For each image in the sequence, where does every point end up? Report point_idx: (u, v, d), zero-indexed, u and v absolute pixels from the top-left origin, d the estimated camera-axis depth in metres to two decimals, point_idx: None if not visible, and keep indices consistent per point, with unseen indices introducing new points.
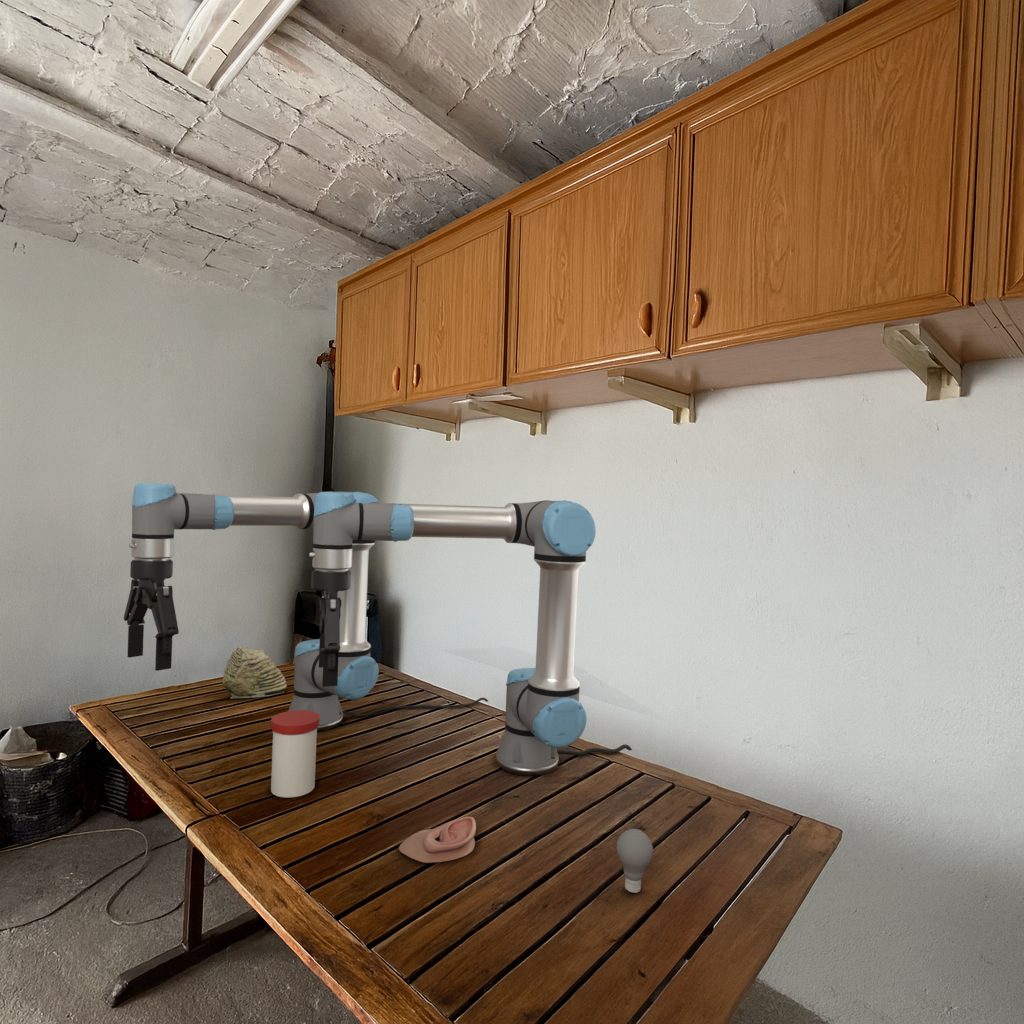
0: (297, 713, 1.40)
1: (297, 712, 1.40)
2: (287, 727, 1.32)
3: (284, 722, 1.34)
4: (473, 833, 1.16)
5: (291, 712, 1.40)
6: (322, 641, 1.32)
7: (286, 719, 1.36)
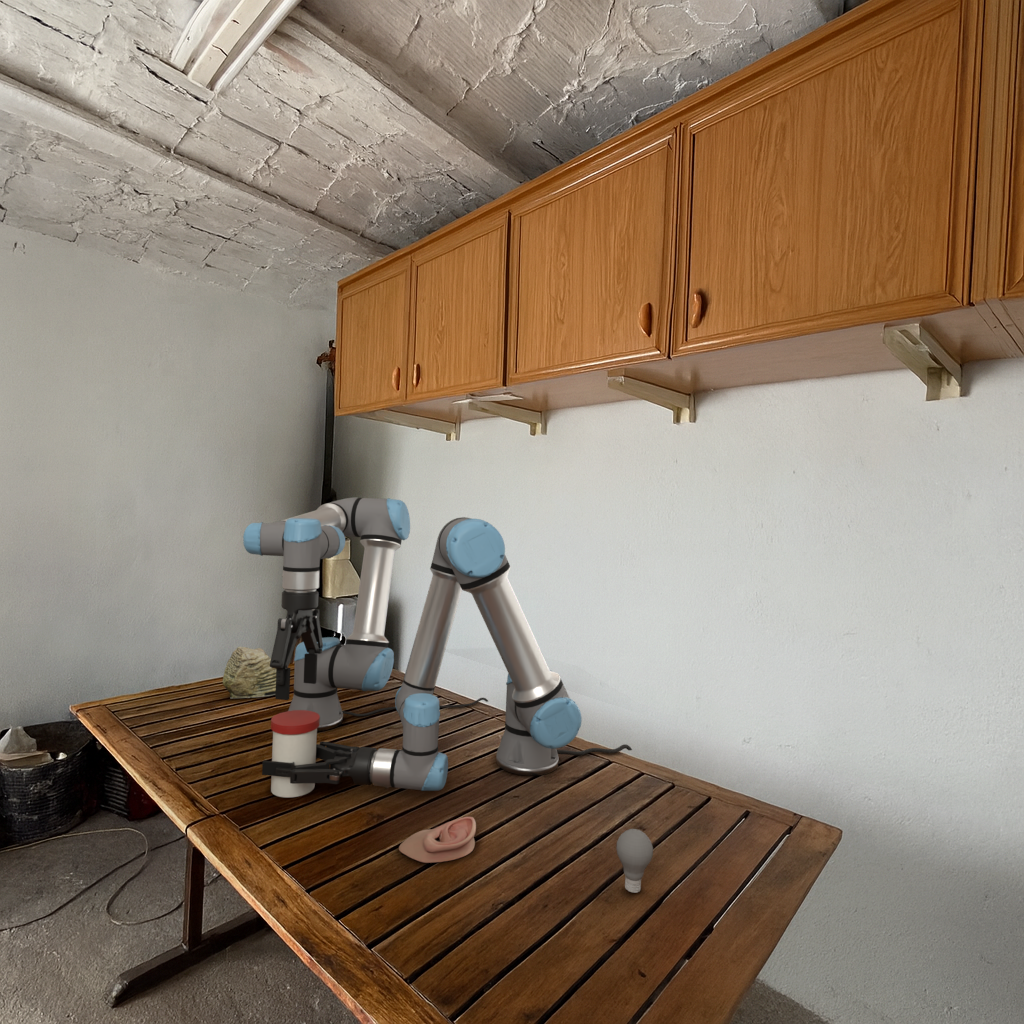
0: (297, 713, 1.40)
1: (297, 712, 1.40)
2: (287, 727, 1.32)
3: (284, 722, 1.34)
4: (473, 833, 1.16)
5: (291, 712, 1.40)
6: None
7: (286, 719, 1.36)
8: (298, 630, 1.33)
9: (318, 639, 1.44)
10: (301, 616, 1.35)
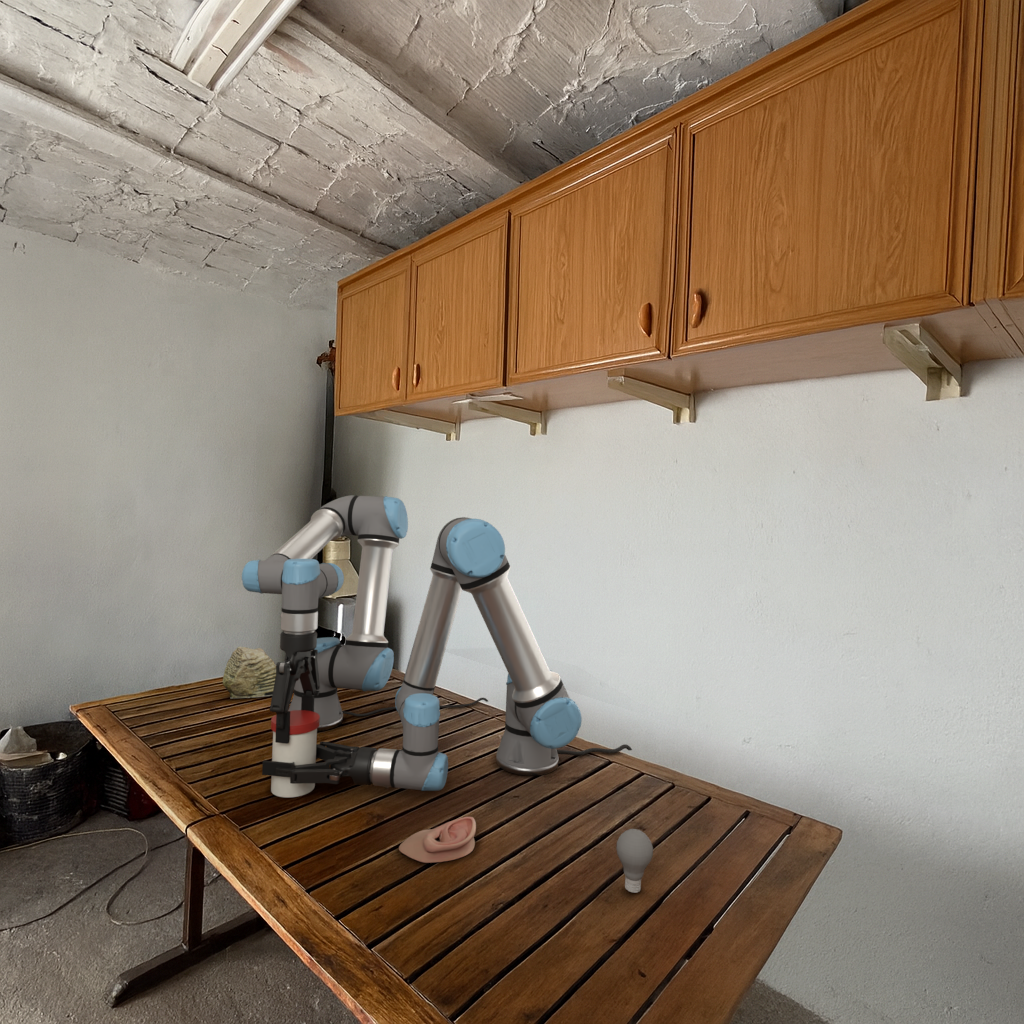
0: (297, 713, 1.40)
1: (297, 712, 1.40)
2: None
3: None
4: (473, 833, 1.16)
5: (291, 712, 1.40)
6: None
7: None
8: (297, 672, 1.34)
9: (315, 680, 1.43)
10: (299, 657, 1.35)
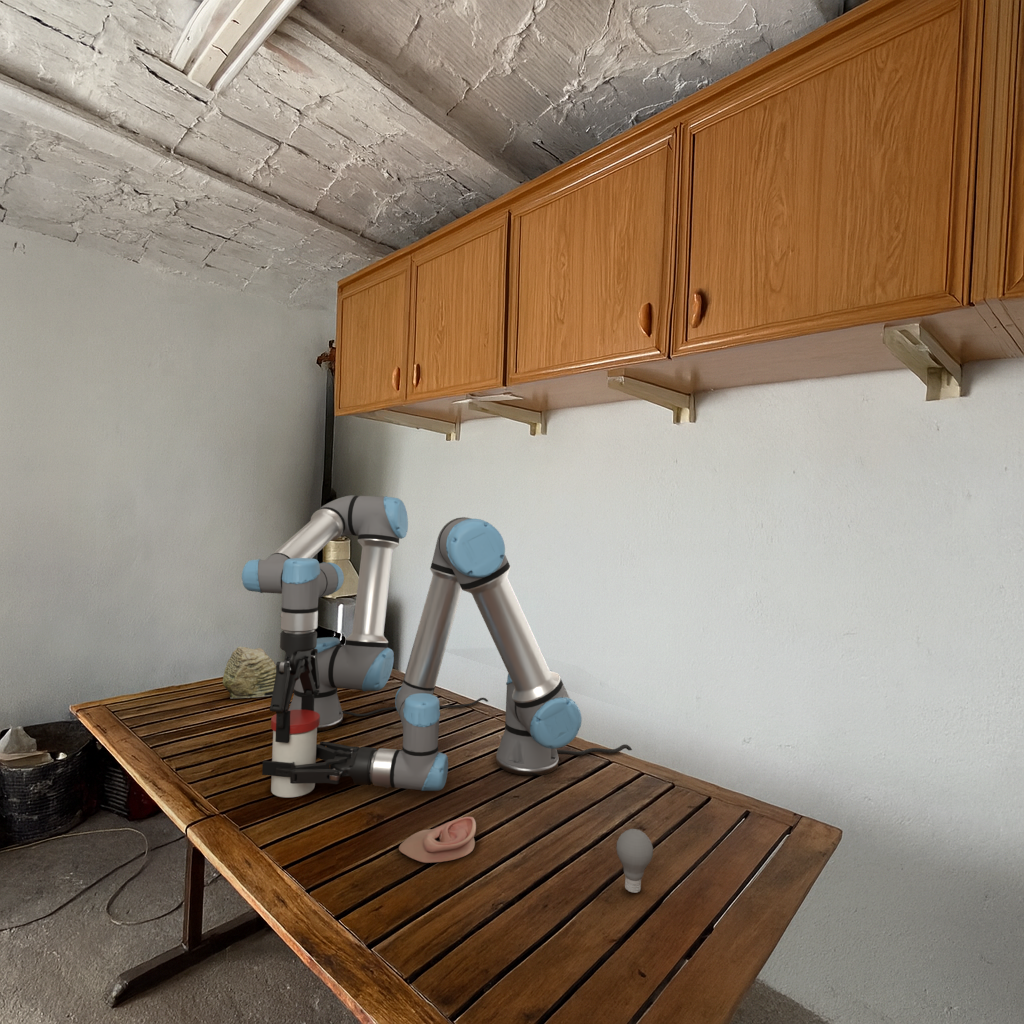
0: None
1: None
2: (312, 723, 1.35)
3: (301, 721, 1.34)
4: (473, 833, 1.16)
5: None
6: None
7: (295, 720, 1.35)
8: (297, 672, 1.34)
9: (315, 679, 1.43)
10: (299, 656, 1.35)
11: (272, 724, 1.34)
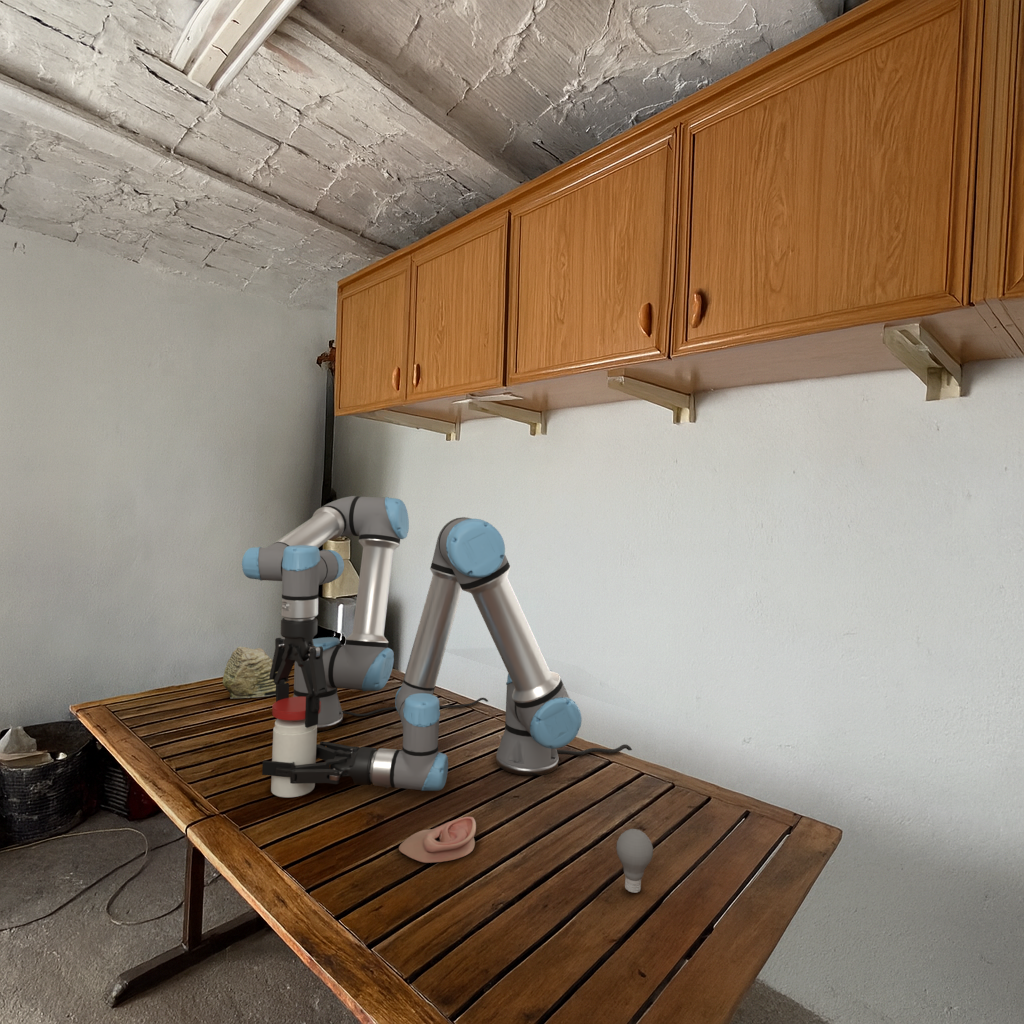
0: (284, 706, 1.35)
1: (282, 707, 1.35)
2: None
3: None
4: (473, 833, 1.16)
5: (284, 709, 1.34)
6: None
7: (304, 705, 1.37)
8: None
9: None
10: None
11: (293, 715, 1.32)
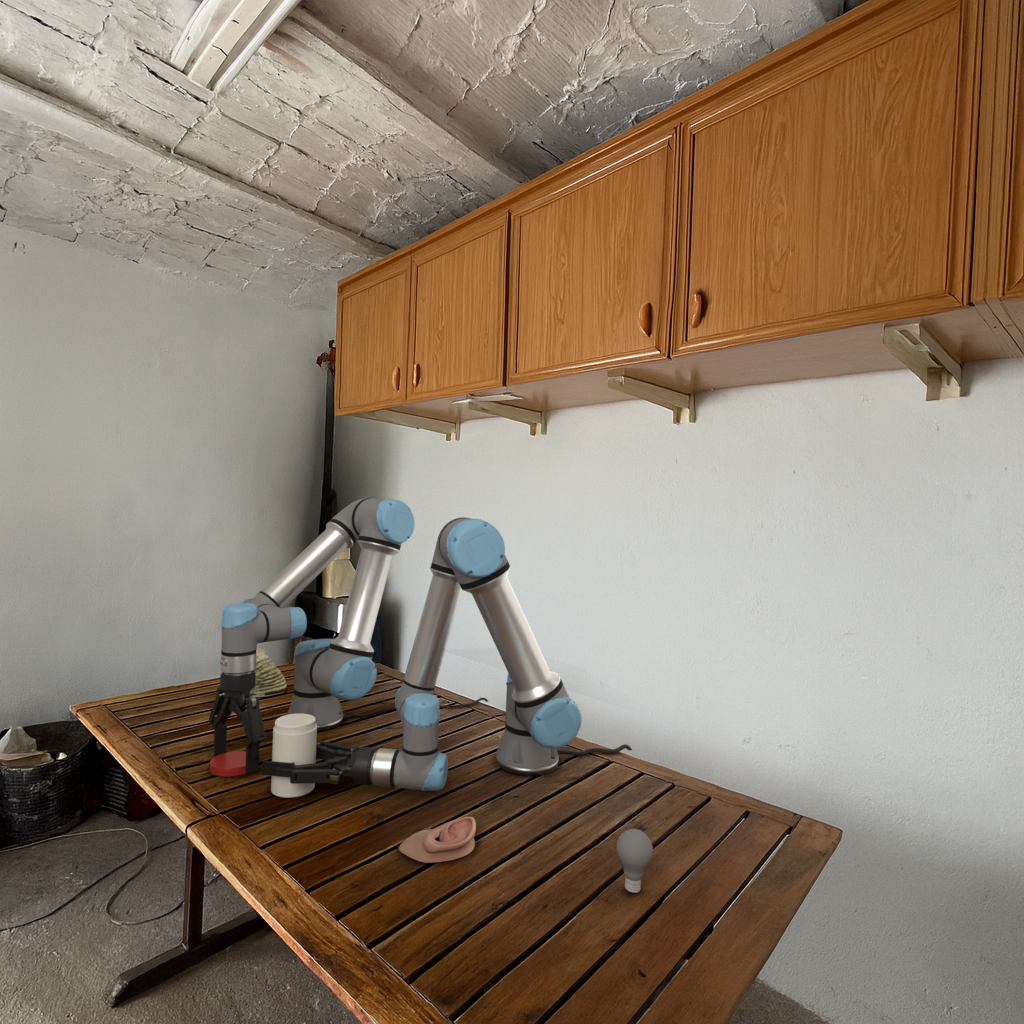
0: (221, 762, 1.44)
1: (218, 763, 1.44)
2: None
3: None
4: (473, 833, 1.16)
5: (220, 765, 1.43)
6: None
7: (241, 760, 1.46)
8: None
9: None
10: None
11: (228, 771, 1.41)
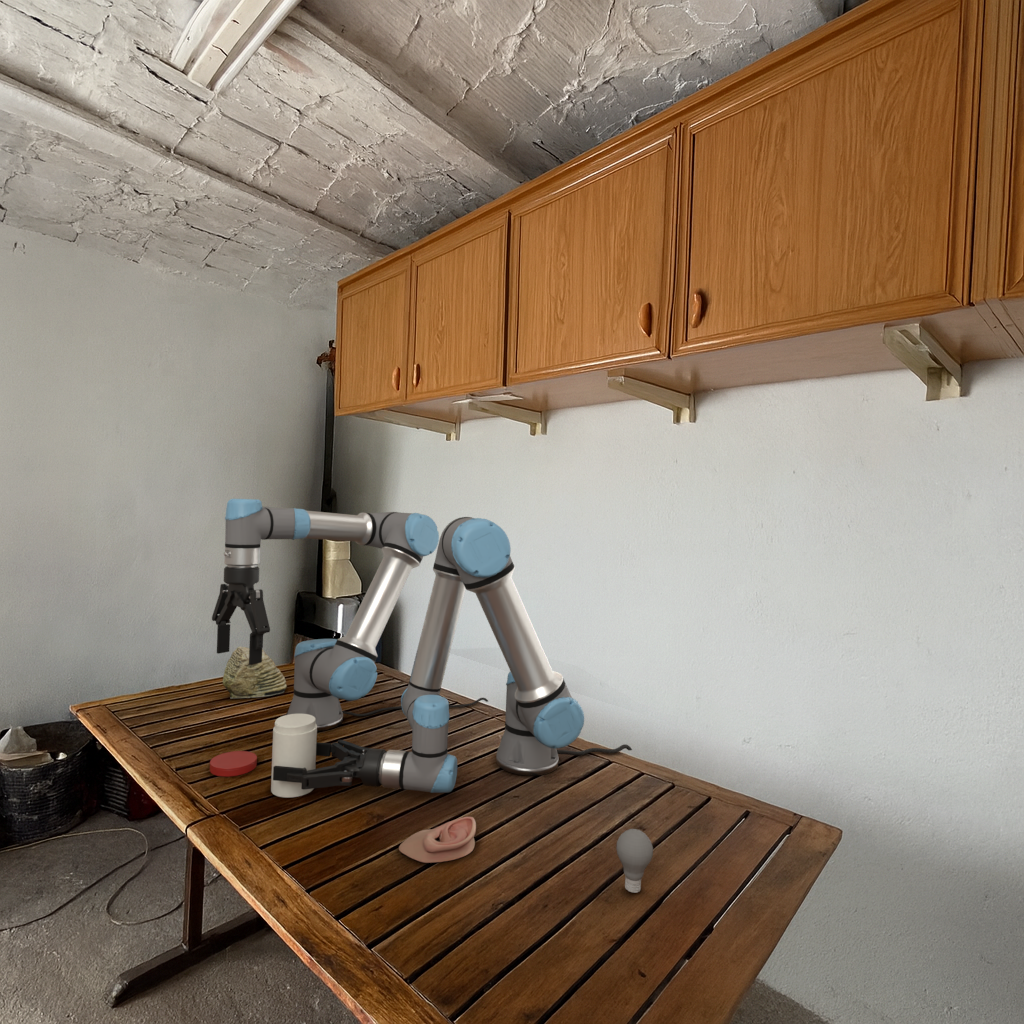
0: (221, 762, 1.44)
1: (218, 763, 1.44)
2: None
3: (249, 758, 1.47)
4: (473, 833, 1.16)
5: (220, 765, 1.43)
6: None
7: (241, 760, 1.46)
8: None
9: None
10: None
11: (228, 771, 1.41)
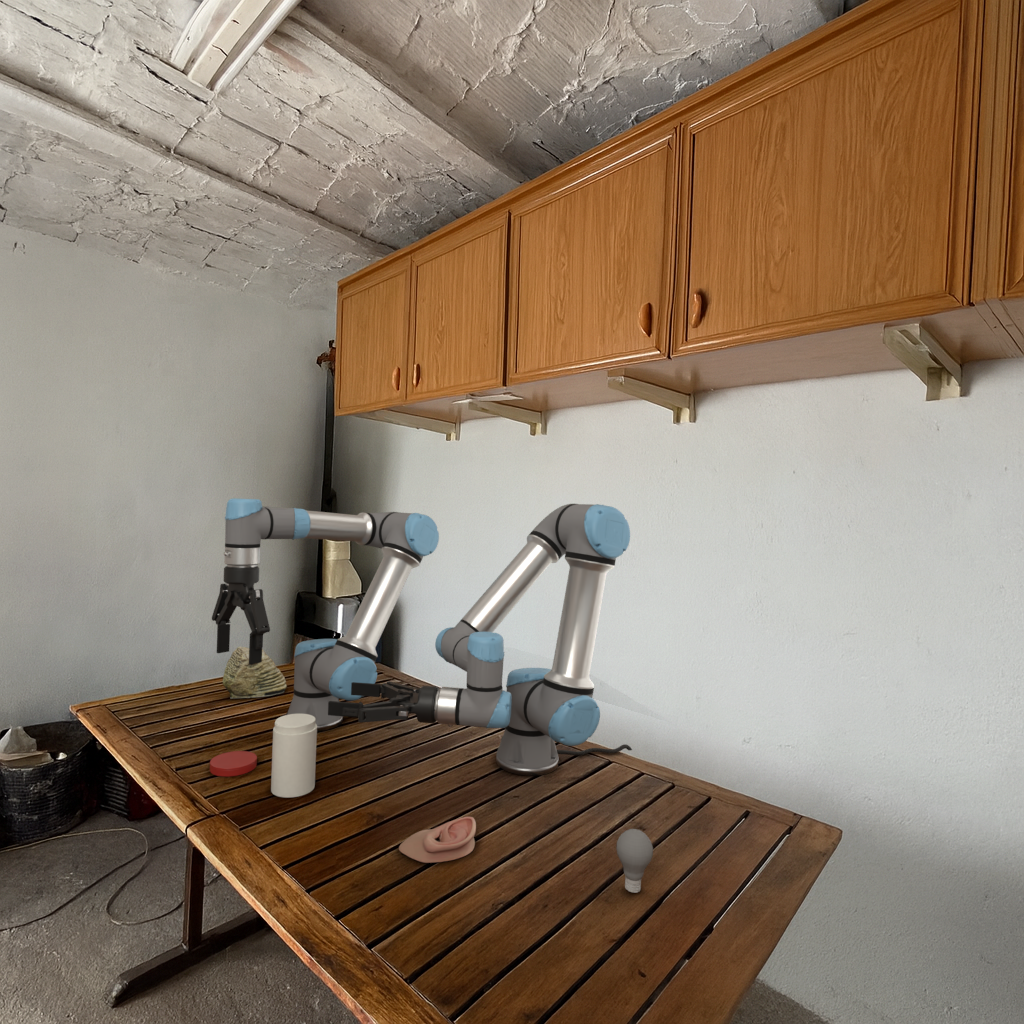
0: (221, 762, 1.44)
1: (218, 763, 1.44)
2: None
3: (249, 758, 1.47)
4: (473, 833, 1.16)
5: (220, 765, 1.43)
6: None
7: (241, 760, 1.46)
8: None
9: None
10: None
11: (228, 771, 1.41)
